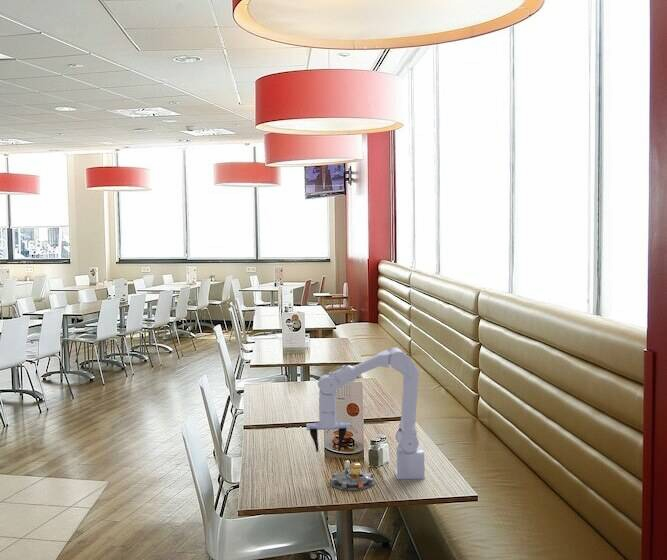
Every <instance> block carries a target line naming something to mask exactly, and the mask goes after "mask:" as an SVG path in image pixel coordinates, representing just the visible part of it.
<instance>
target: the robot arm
mask: <svg viewBox="0 0 667 560" xmlns="http://www.w3.org/2000/svg"><path fill="white" fill-rule="evenodd" d="M390 366H391V367H392V369H393V370H395V371H398V372H399V373H400V374H401V375H402V376H403V380H402V381H403V382H402V397H401V409H400V410H401V414H400V422H399V424H398V430H397V431H396V433H395V440H396V442H397V443H398V445H397V446H396V469H395V470H394V473H395V476H396V479H397V480H419V479H420V480H422V479H423V480H425V479H426V477H425V471H426V469H425V454H424V453H425V452H424V449H419V445H420V444H419V438H418V437H417V433H418V431H417V427H416V418H417V403H418V402H417V401H418V387H419V370H418V368H416V365H415V364H414V362H413V361H412V358H411V357H410V356H409V355H407V353H405V352H404V351H403V350H402V349H401V348H399V347H397V346H396V347H395V346H394V347H390V348H388V349H385V350H382V351H380V352H378V353H376V354H375V355H373V356H371V357H369V358H367V359H365V360H363V361H362V362H359V363H358V364H356V365H353V366H352V365H350V364H348V365H345V364H344V365H341V368H339V369H337V370H334V371H333V372H332V371H329V372H328V374H324V375H322V376H320V377H319V379H318V382H317V387H318V388H319V392H318V396H319V398H318V413H319V415H318V419H319V421H318V422H311V423H306V429H305V430H306V431H309V434H310V436H311V438H312V440H313V443H314V446H315V451H316V452H319V438H318V437H319V436H318V433H319V432H318V431H321V430H322V431H323V430H328V431H329V430H333V431H334V430H338V447H337V448H338V450H337V451H338V452H341V450H342V449H341V448H342V444H343V441H344V438H345V436H346V433H347V431H349V430H350V422H341V421H340V422H339V421H337V397H336V391H337V389H340V388H343V387H344V386H347V385H349V384H351V383H353V382H356V380H357V378H358V376H360V375H362V374H364V373H367V372H369V371H371V370H373V369H376V368H379V367H383V368H387V369H389V368H390Z"/></svg>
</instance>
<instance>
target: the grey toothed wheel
mask: <svg viewBox="0 0 667 560" xmlns="http://www.w3.org/2000/svg"><path fill="white" fill-rule="evenodd" d="M331 479H332V483H333V484H338V485H341V486H342V487H343V488H347V487H358V488H361V487H363V486H364V485H367V484H372V483H374V479H375V478H374V473H372V472H367V471H364V469H361V477H360V478H353V479H352V478H351V462H350V460H348V459H346V460H344V469H342V471H339V472H333V473H332V474H331Z"/></svg>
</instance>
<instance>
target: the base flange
mask: <svg viewBox="0 0 667 560" xmlns="http://www.w3.org/2000/svg"><path fill="white" fill-rule="evenodd" d="M329 484H330V486H332V488H335V489H338V490H341V491H354V492H355V491H362V490H363V491H364V490H368V489H370V488H372V487H374V486H375V485H376V479H375V478H374V483H372V484H367V485H364V486H363V487H361V488H358V487H347V488H343V487H342V486H341V485H338V484H333V483H332V478H331V479H330V481H329Z"/></svg>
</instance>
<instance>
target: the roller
mask: <svg viewBox="0 0 667 560" xmlns="http://www.w3.org/2000/svg"><path fill="white" fill-rule="evenodd" d="M350 470H351V478H352V479H353V478H360V477H361V470H362V465H361V463H360V462H350Z"/></svg>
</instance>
